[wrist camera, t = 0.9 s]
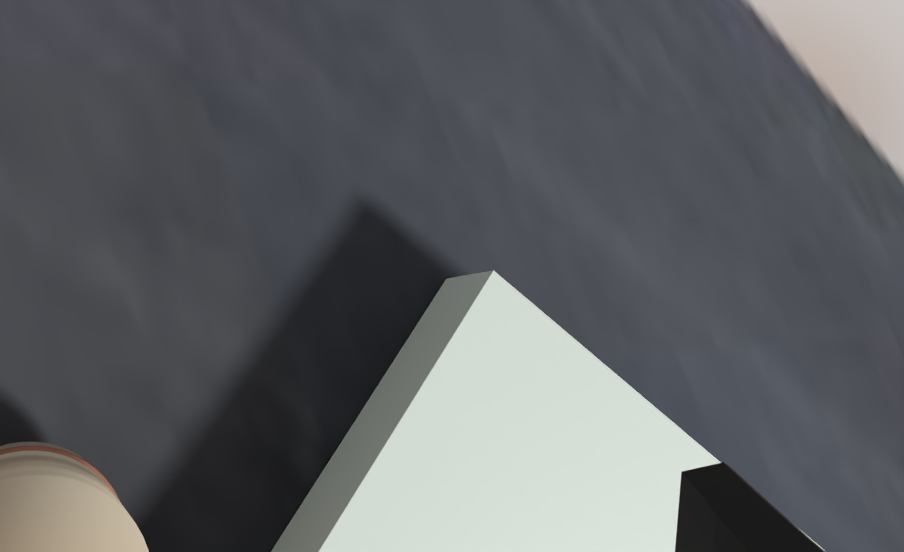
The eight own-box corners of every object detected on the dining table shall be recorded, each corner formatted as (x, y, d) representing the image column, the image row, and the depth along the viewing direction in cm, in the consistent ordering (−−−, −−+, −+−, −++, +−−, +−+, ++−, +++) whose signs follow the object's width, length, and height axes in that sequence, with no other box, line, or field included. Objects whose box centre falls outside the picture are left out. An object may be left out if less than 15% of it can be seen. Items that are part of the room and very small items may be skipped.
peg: (39, 633, 21) (52, 773, 14) (-117, 550, 20) (-188, 659, 13) (142, 488, 23) (202, 550, 16) (3, 402, 21) (0, 426, 14)
